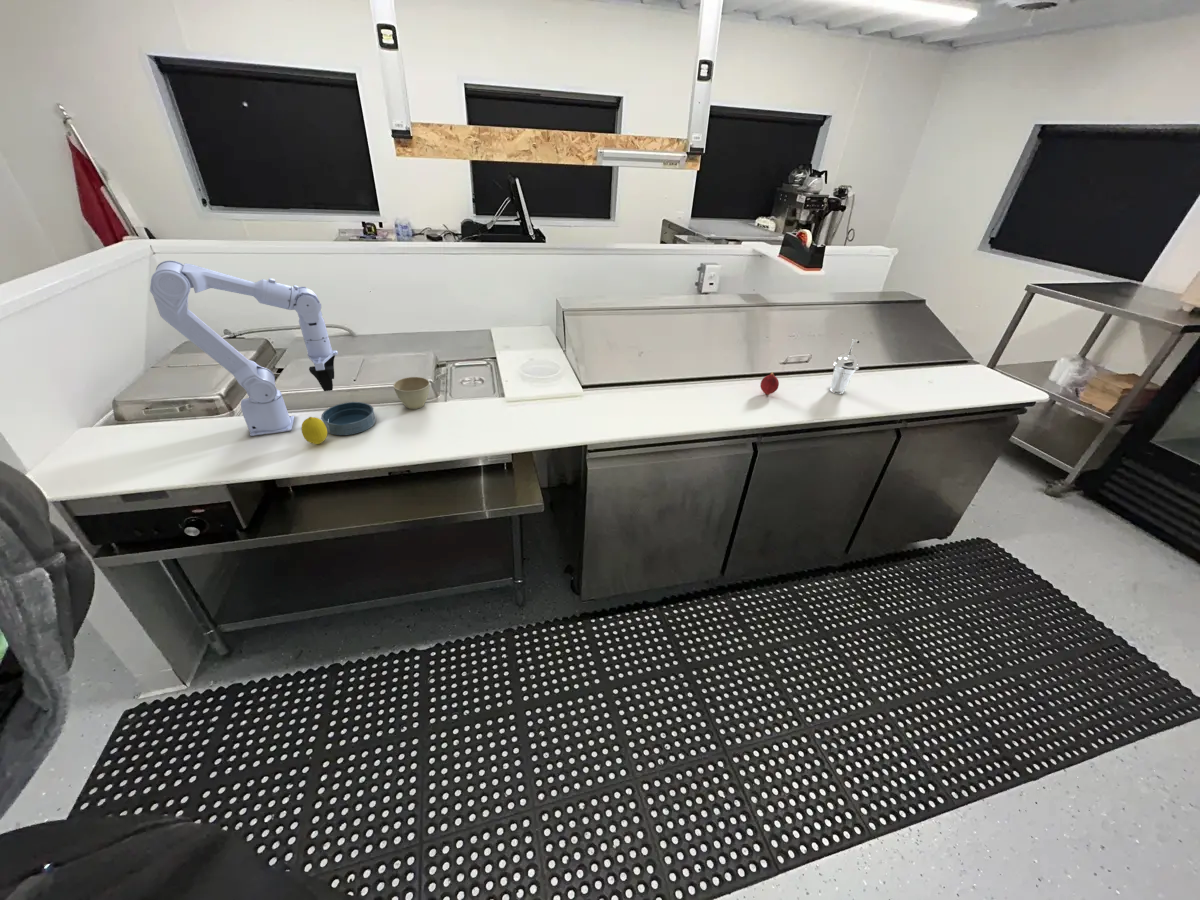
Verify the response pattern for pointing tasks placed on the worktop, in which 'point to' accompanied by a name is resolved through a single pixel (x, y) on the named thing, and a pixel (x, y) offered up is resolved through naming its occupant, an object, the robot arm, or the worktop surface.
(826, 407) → the worktop surface
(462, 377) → the worktop surface
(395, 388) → the flower pot
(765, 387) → the onion
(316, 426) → the lemon
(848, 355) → the cup with straw
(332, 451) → the worktop surface
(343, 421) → the bowl
